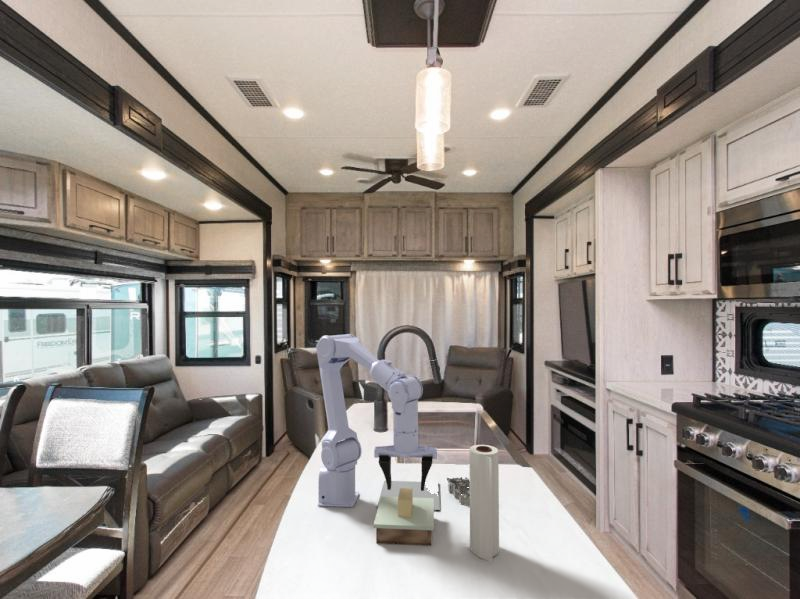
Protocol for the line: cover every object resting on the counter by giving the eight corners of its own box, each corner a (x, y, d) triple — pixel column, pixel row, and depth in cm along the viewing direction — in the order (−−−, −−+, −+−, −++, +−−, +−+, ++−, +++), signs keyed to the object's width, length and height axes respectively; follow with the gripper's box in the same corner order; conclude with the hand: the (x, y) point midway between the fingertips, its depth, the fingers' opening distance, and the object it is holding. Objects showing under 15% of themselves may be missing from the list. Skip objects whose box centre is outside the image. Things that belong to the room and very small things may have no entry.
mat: (376, 508, 104) (376, 507, 104) (384, 482, 120) (384, 480, 120) (439, 511, 103) (439, 509, 103) (438, 483, 119) (438, 482, 119)
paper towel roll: (475, 538, 91) (475, 441, 91) (502, 546, 88) (502, 446, 88) (463, 555, 84) (463, 451, 85) (492, 565, 81) (491, 457, 82)
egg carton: (486, 504, 107) (486, 488, 107) (460, 508, 105) (460, 492, 105) (469, 486, 117) (469, 472, 117) (445, 489, 115) (445, 475, 115)
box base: (376, 543, 89) (376, 526, 89) (383, 515, 101) (383, 500, 101) (431, 545, 88) (431, 529, 88) (431, 517, 100) (431, 502, 100)
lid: (373, 527, 88) (373, 506, 89) (381, 499, 101) (381, 481, 102) (433, 530, 87) (433, 508, 88) (433, 501, 100) (433, 482, 100)
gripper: (372, 434, 91) (372, 495, 91) (437, 435, 90) (437, 497, 90) (376, 425, 98) (376, 481, 98) (436, 426, 97) (437, 483, 97)
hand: (405, 488), depth 95 cm, fingers open, 7 cm apart
